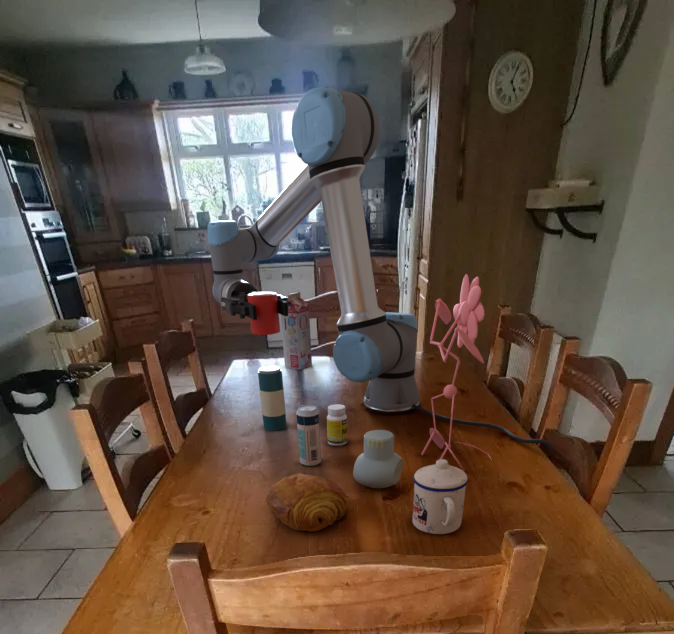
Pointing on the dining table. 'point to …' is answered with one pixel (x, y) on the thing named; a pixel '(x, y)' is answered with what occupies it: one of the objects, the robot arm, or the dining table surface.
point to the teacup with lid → (439, 498)
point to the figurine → (467, 330)
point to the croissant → (307, 501)
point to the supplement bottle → (336, 425)
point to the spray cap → (265, 313)
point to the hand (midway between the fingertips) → (270, 311)
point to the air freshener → (378, 461)
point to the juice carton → (296, 333)
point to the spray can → (272, 397)
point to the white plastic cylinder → (308, 435)
